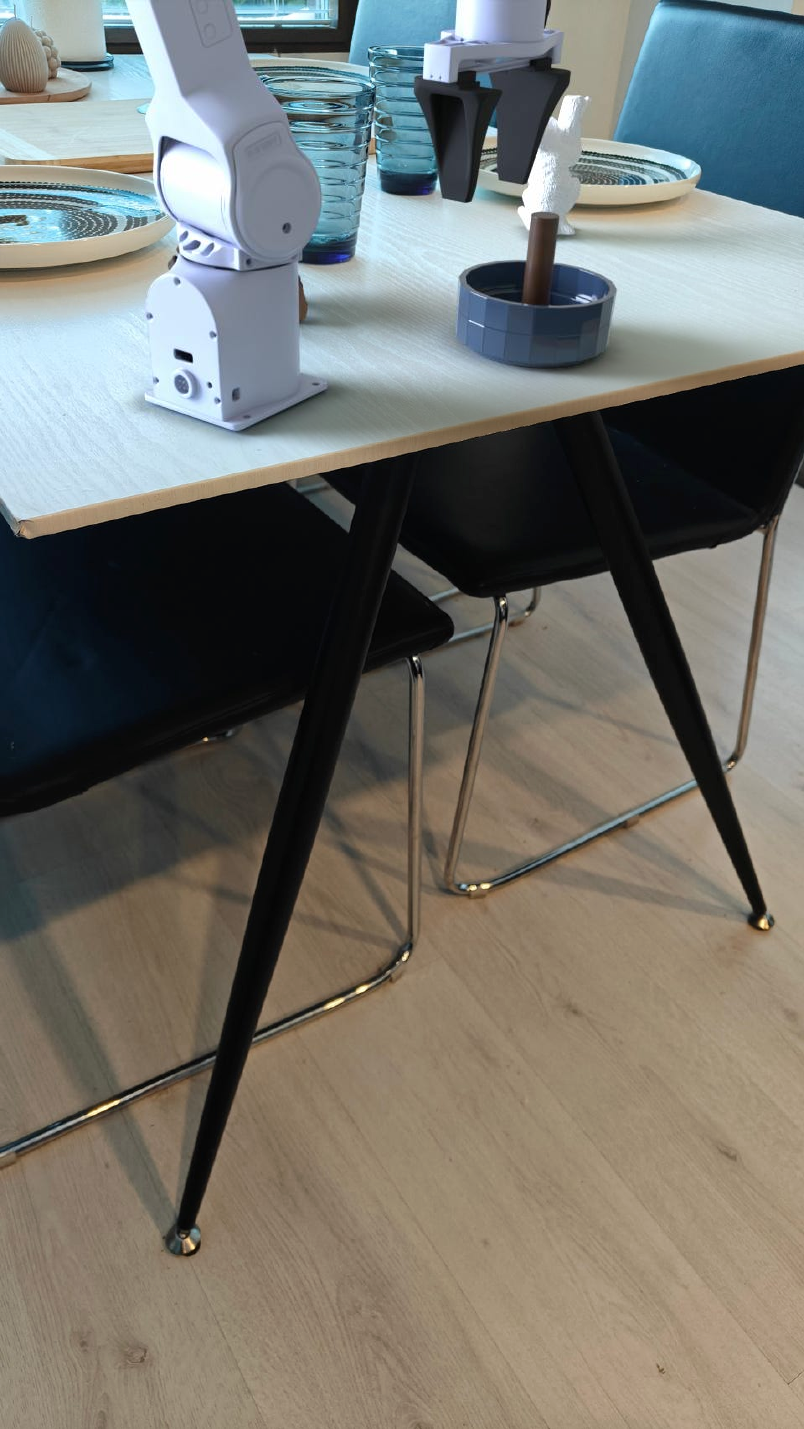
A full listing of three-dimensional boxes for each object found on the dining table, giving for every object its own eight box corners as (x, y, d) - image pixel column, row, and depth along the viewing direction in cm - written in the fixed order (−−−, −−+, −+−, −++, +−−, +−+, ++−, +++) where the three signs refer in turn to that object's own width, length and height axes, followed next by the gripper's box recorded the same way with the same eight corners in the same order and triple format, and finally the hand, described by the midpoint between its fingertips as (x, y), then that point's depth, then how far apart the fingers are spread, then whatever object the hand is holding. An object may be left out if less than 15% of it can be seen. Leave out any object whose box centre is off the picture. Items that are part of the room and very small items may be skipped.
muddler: (541, 348, 80) (556, 224, 74) (498, 337, 81) (510, 215, 76) (563, 335, 82) (579, 214, 77) (522, 324, 84) (535, 206, 78)
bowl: (562, 384, 76) (571, 319, 73) (425, 346, 81) (429, 284, 78) (631, 341, 83) (641, 280, 81) (502, 309, 88) (508, 251, 86)
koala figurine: (554, 221, 111) (570, 87, 104) (601, 236, 107) (622, 98, 100) (492, 231, 107) (504, 92, 100) (539, 248, 103) (555, 104, 96)
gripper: (508, -53, 74) (489, 166, 83) (386, -49, 65) (378, 198, 73) (601, -44, 71) (572, 181, 80) (487, -39, 62) (468, 217, 70)
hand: (485, 190), depth 76 cm, fingers open, 7 cm apart
